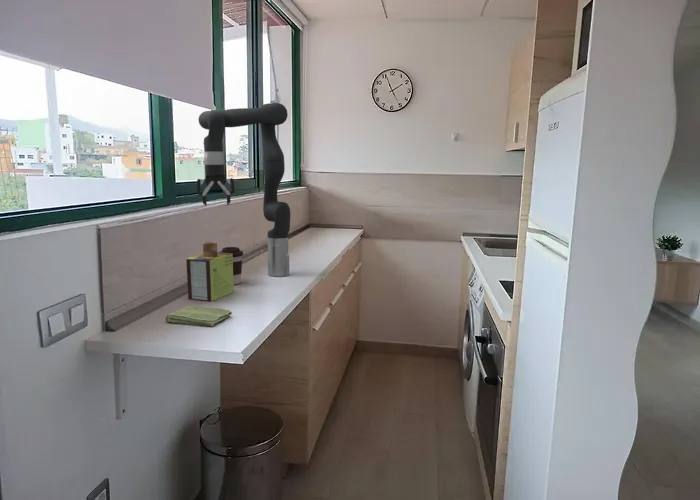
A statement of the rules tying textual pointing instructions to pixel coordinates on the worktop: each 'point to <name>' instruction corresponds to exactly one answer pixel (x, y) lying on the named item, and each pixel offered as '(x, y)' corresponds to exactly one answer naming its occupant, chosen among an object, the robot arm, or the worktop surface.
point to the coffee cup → (235, 262)
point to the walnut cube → (210, 248)
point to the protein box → (210, 276)
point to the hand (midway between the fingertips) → (216, 205)
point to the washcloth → (198, 315)
